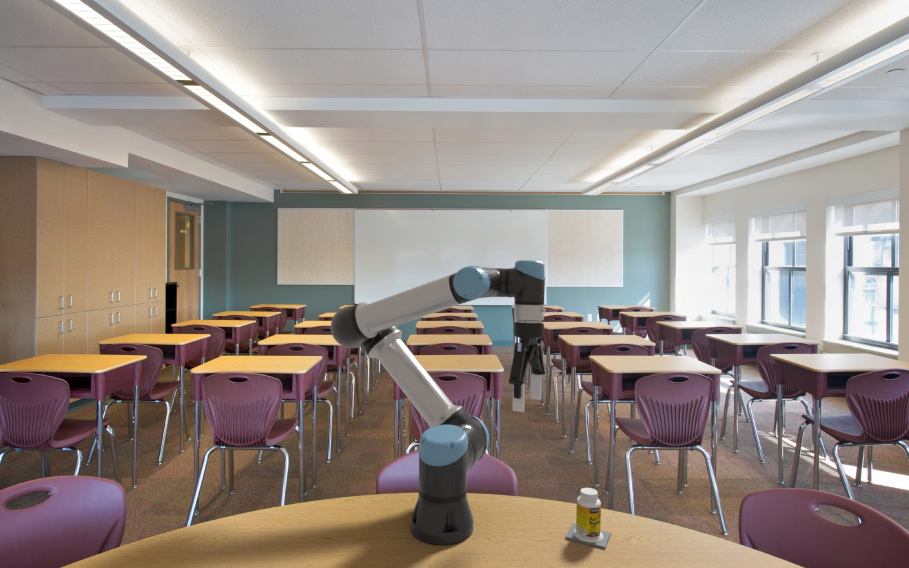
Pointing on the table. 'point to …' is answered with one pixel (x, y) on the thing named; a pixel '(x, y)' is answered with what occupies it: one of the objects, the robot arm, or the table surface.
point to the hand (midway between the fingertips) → (527, 405)
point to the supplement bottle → (588, 514)
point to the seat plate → (597, 542)
